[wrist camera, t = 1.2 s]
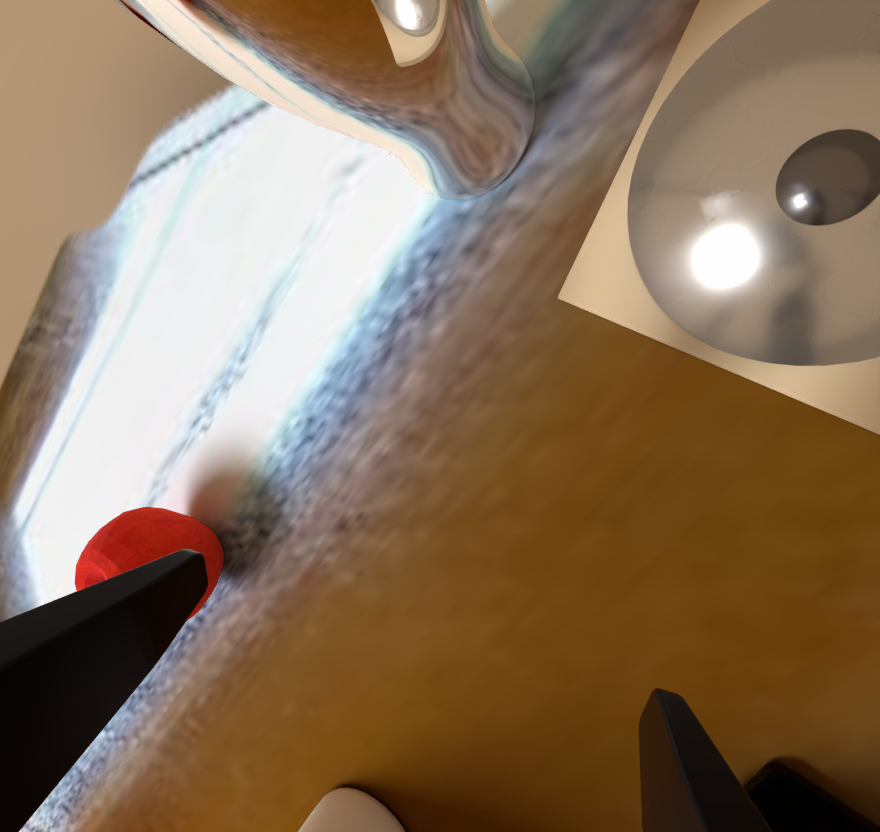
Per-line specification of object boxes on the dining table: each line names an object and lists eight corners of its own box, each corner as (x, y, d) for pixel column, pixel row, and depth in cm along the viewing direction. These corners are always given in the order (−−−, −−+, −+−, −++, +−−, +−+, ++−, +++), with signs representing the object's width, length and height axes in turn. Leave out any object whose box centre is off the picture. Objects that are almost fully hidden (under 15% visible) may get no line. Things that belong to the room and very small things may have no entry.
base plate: (1232, 21, 11) (1274, -2, 10) (888, 438, 15) (900, 443, 14) (728, -49, 14) (732, -69, 14) (560, 299, 18) (557, 298, 18)
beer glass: (429, 15, 19) (-110, -798, 5) (579, 51, 17) (310, -1143, 3) (376, 184, 21) (-97, -90, 8) (501, 234, 19) (154, -22, 6)
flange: (1223, 19, 10) (1281, -13, 9) (894, 422, 14) (912, 428, 13) (739, -48, 14) (746, -76, 13) (574, 290, 17) (570, 287, 16)
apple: (235, 487, 29) (112, 531, 22) (260, 601, 29) (148, 677, 23) (160, 491, 32) (34, 530, 26) (184, 593, 33) (68, 657, 26)
